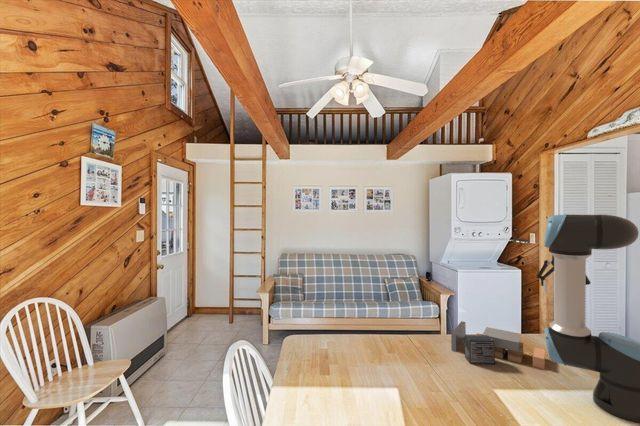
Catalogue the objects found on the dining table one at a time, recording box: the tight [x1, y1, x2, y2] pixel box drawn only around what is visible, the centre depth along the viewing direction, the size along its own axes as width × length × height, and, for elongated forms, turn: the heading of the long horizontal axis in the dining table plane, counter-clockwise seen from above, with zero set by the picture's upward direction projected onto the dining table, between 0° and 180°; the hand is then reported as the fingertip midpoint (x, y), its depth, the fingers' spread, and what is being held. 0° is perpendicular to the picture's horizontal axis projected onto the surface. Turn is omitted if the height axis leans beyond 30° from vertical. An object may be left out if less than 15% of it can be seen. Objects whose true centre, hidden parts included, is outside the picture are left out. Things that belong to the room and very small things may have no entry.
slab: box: [481, 326, 522, 352], centre depth 141 cm, size 12×14×4 cm
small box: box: [464, 334, 496, 366], centre depth 134 cm, size 11×6×10 cm, turn 84°
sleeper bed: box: [475, 333, 524, 364], centre depth 142 cm, size 11×19×5 cm, turn 52°
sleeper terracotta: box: [532, 346, 546, 370], centre depth 132 cm, size 11×4×4 cm, turn 143°
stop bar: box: [450, 321, 467, 352], centre depth 152 cm, size 20×2×8 cm, turn 142°
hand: (562, 295), depth 145 cm, fingers open, 13 cm apart
